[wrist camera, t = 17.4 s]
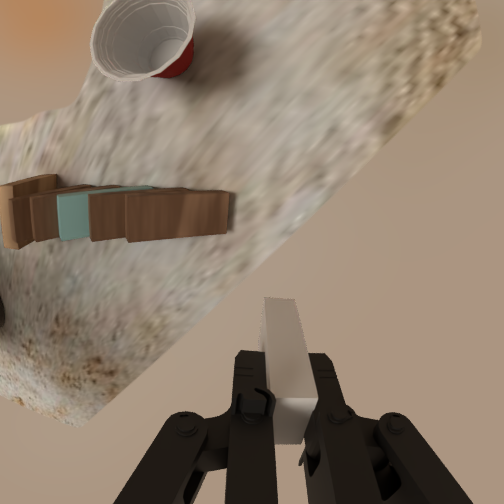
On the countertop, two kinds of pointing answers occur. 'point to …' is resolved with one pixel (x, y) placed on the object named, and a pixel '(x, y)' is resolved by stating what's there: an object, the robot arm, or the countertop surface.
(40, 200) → the domino
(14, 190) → the block
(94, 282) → the countertop surface
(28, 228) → the domino
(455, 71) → the countertop surface
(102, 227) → the domino
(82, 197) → the domino
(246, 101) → the countertop surface
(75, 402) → the countertop surface
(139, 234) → the domino
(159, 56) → the plastic cup
